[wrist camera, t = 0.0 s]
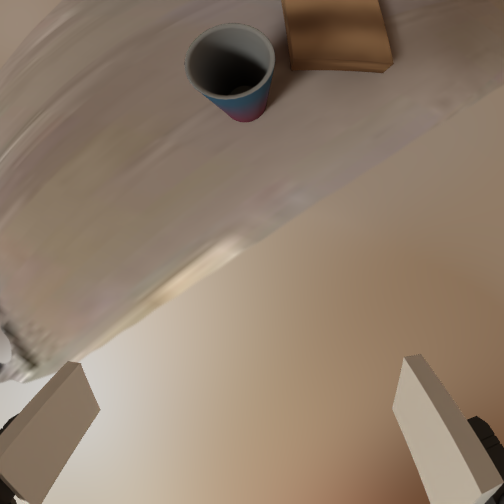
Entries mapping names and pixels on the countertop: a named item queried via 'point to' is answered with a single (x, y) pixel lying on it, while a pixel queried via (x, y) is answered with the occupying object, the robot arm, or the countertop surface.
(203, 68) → the cup
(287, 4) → the base block
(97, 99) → the countertop surface
